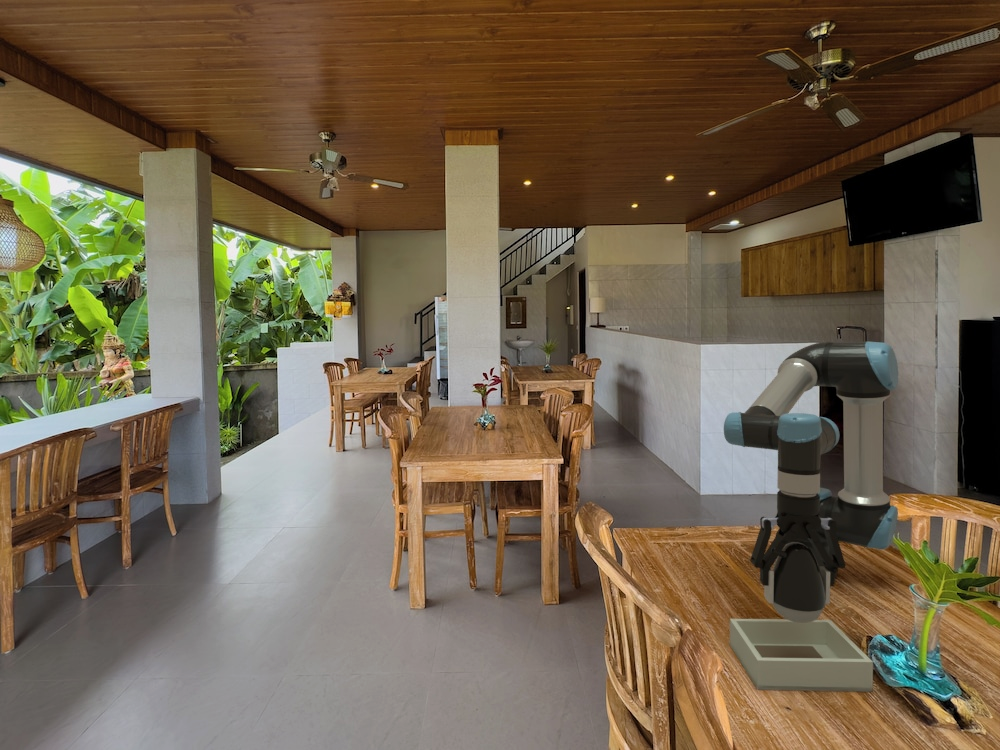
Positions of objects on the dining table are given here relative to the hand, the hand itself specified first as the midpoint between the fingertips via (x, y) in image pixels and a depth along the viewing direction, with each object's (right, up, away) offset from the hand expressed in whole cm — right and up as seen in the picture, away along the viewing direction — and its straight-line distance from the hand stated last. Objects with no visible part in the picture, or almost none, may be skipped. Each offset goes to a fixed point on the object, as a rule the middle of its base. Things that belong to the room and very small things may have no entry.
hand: (796, 600), depth 116 cm
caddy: (0, -14, +1) cm, 14 cm away
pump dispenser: (0, -3, 0) cm, 3 cm away
